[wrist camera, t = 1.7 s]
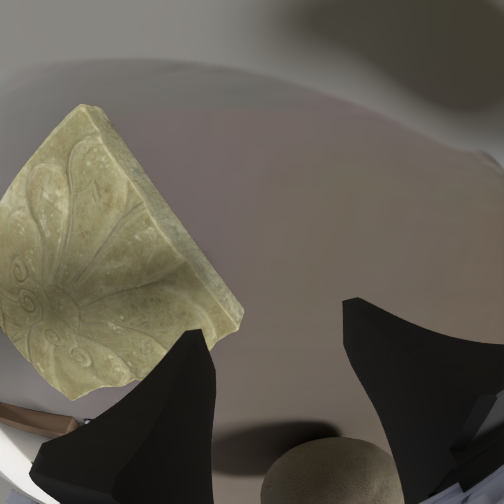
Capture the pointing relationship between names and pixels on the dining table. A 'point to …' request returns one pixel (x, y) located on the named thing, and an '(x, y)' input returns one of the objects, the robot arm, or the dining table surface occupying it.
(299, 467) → the cantaloupe
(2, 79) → the dining table surface
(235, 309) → the decorative tile
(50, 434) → the frame
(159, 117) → the dining table surface
